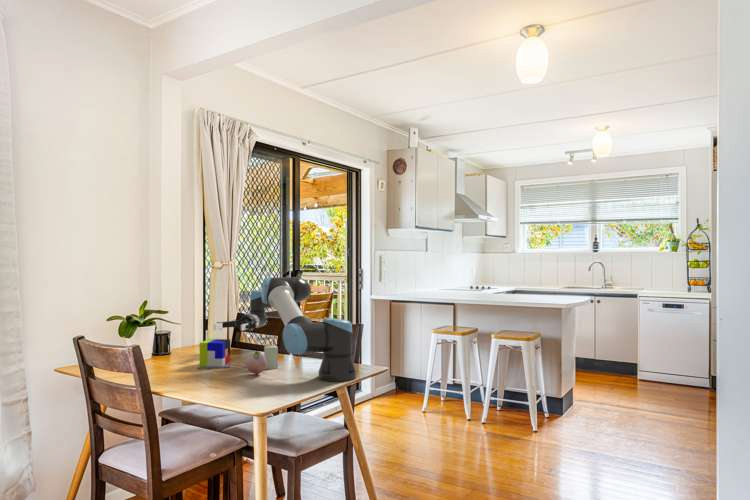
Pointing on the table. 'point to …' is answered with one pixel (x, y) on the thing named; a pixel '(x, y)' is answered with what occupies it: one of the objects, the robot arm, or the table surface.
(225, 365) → the mat
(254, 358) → the decorative fruit
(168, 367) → the table surface
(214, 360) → the puzzle toy
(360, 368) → the table surface
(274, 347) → the sage block
